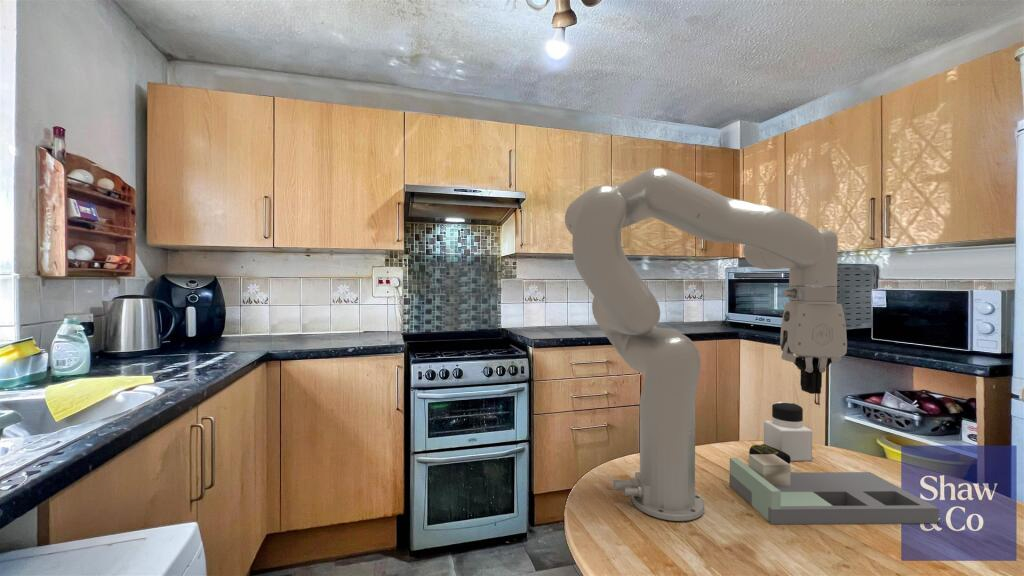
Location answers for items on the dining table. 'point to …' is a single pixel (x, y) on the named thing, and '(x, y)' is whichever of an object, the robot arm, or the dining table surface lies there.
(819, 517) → the grey green slotted tray
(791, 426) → the medicine bottle
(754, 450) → the tape measure
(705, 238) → the robot arm
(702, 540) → the dining table surface
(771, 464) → the block
